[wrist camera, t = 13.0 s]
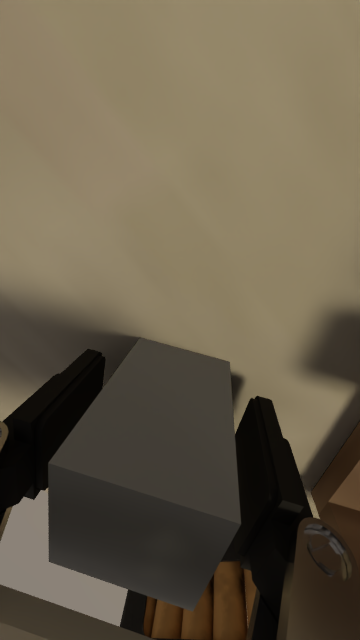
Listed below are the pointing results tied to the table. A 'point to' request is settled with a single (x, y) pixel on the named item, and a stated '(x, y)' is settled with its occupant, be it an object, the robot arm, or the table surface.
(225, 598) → the ammunition clip
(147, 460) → the rubber block
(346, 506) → the slot rack
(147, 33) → the table surface
